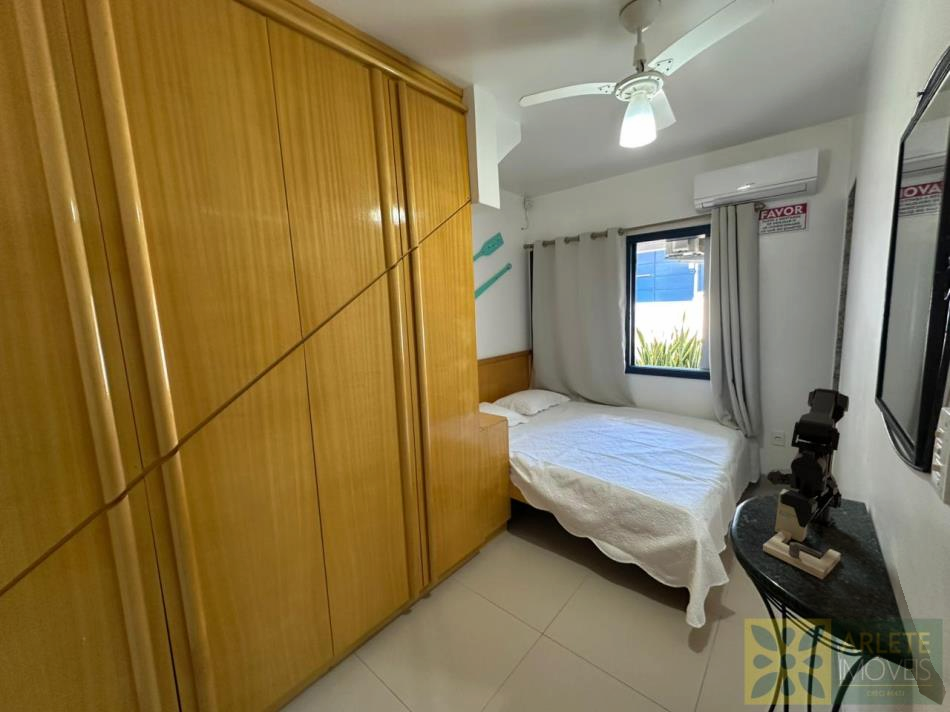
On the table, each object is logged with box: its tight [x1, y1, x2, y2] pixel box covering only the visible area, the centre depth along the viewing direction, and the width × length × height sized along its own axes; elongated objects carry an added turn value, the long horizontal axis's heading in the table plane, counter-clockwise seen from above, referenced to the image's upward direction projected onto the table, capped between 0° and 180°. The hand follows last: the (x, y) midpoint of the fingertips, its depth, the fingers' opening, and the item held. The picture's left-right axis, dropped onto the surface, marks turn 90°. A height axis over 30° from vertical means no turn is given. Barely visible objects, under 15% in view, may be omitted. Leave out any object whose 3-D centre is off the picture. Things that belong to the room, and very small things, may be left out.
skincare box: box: [774, 488, 809, 543], centre depth 101 cm, size 6×4×12 cm
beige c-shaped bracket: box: [762, 529, 841, 580], centre depth 93 cm, size 12×12×6 cm
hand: (806, 522), depth 93 cm, fingers open, 6 cm apart
